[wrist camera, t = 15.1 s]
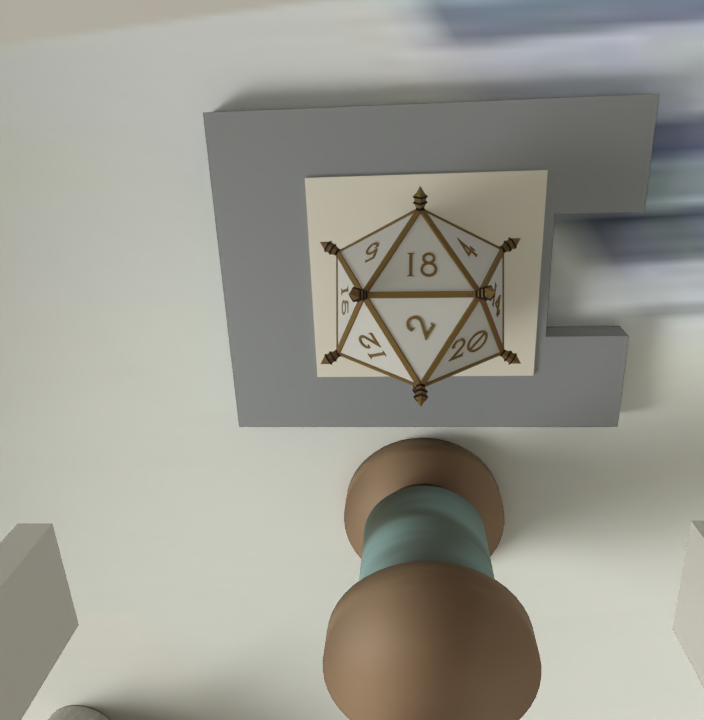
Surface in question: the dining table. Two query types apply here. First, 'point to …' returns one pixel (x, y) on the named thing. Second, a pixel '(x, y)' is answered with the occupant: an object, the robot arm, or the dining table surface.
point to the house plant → (77, 714)
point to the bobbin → (428, 595)
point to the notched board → (393, 200)
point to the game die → (420, 299)
